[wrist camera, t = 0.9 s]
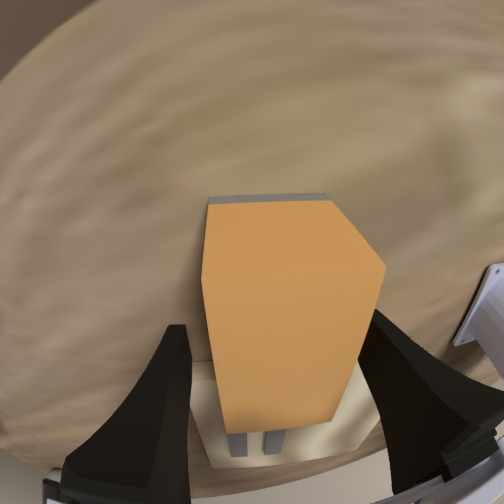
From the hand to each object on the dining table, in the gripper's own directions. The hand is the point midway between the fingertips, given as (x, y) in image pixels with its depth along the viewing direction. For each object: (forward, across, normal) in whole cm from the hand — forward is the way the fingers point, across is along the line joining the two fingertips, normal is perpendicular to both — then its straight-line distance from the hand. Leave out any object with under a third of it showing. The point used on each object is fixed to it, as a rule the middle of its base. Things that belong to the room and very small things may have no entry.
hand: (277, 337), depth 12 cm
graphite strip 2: (+2, -1, +15) cm, 15 cm away
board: (+4, -3, +15) cm, 16 cm away
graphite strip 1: (+2, +2, +15) cm, 15 cm away
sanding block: (+4, 0, 0) cm, 4 cm away
